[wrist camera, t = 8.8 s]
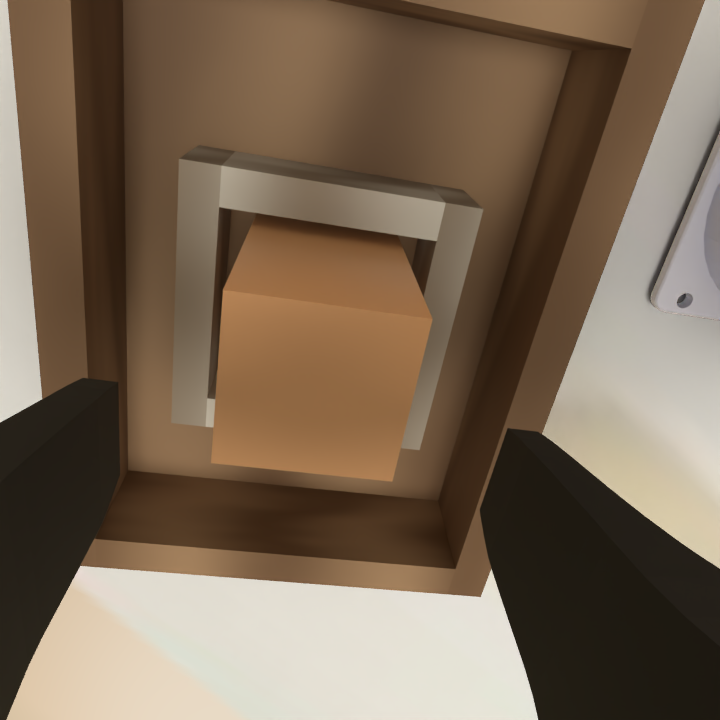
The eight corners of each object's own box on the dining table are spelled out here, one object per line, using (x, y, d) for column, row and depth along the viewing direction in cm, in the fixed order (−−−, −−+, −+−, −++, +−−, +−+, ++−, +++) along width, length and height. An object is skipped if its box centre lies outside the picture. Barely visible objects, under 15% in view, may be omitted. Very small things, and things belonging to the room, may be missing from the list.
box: (620, 10, 16) (706, -5, 12) (456, 516, 24) (480, 596, 20) (77, -109, 14) (-7, -166, 10) (100, 482, 22) (56, 564, 18)
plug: (393, 226, 17) (432, 319, 11) (370, 345, 19) (392, 481, 13) (260, 205, 17) (223, 289, 11) (248, 329, 19) (210, 463, 12)
